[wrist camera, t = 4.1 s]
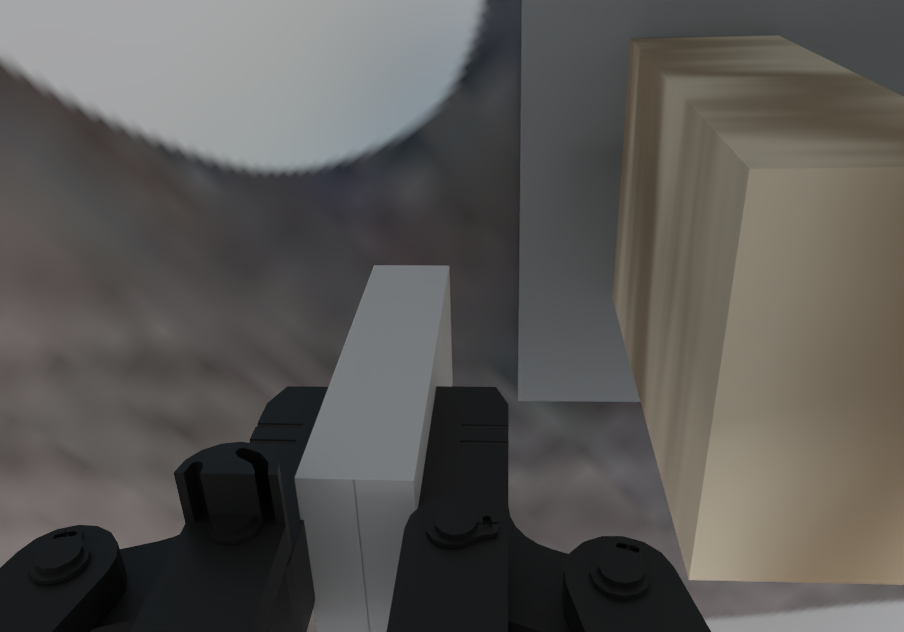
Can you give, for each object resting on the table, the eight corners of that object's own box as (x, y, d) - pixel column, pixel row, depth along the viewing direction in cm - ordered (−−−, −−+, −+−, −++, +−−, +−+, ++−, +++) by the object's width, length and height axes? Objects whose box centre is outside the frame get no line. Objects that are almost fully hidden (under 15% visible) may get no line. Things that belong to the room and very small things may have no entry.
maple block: (612, 298, 26) (688, 579, 15) (630, 38, 22) (748, 169, 11) (738, 297, 25) (907, 584, 15) (779, 35, 22) (1043, 165, 11)
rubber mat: (517, 393, 28) (517, 401, 28) (522, -123, 21) (523, -123, 20) (1111, 397, 27) (1121, 405, 26) (1344, -152, 19) (1363, -154, 19)
